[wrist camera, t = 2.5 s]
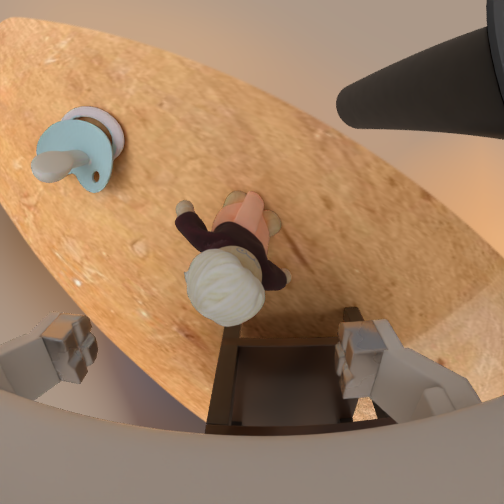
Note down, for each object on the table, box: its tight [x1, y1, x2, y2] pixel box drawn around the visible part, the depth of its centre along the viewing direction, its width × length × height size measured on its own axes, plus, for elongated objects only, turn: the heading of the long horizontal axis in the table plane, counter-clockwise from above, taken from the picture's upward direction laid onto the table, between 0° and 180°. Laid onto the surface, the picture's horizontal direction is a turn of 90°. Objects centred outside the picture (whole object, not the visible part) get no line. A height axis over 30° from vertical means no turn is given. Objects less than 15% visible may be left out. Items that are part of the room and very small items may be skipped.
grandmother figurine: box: [175, 191, 291, 327], centre depth 17 cm, size 8×4×13 cm, turn 65°
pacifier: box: [31, 106, 124, 193], centre depth 18 cm, size 7×6×6 cm
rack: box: [205, 308, 398, 436], centre depth 22 cm, size 11×10×13 cm
